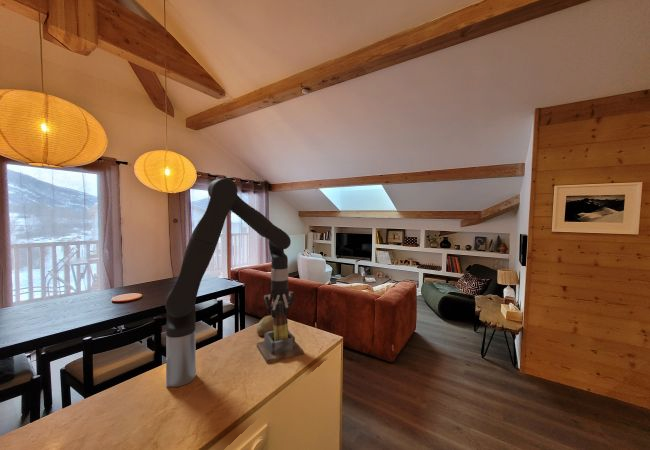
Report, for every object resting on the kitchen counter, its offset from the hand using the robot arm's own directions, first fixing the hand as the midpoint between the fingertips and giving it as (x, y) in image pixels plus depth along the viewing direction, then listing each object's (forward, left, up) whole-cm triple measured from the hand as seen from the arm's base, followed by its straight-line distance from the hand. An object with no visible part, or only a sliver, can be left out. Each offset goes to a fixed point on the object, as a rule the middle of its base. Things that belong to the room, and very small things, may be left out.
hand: (279, 316), depth 115 cm
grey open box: (0, 0, -15) cm, 15 cm away
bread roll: (+2, +20, -15) cm, 25 cm away
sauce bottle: (+1, 0, -14) cm, 14 cm away
